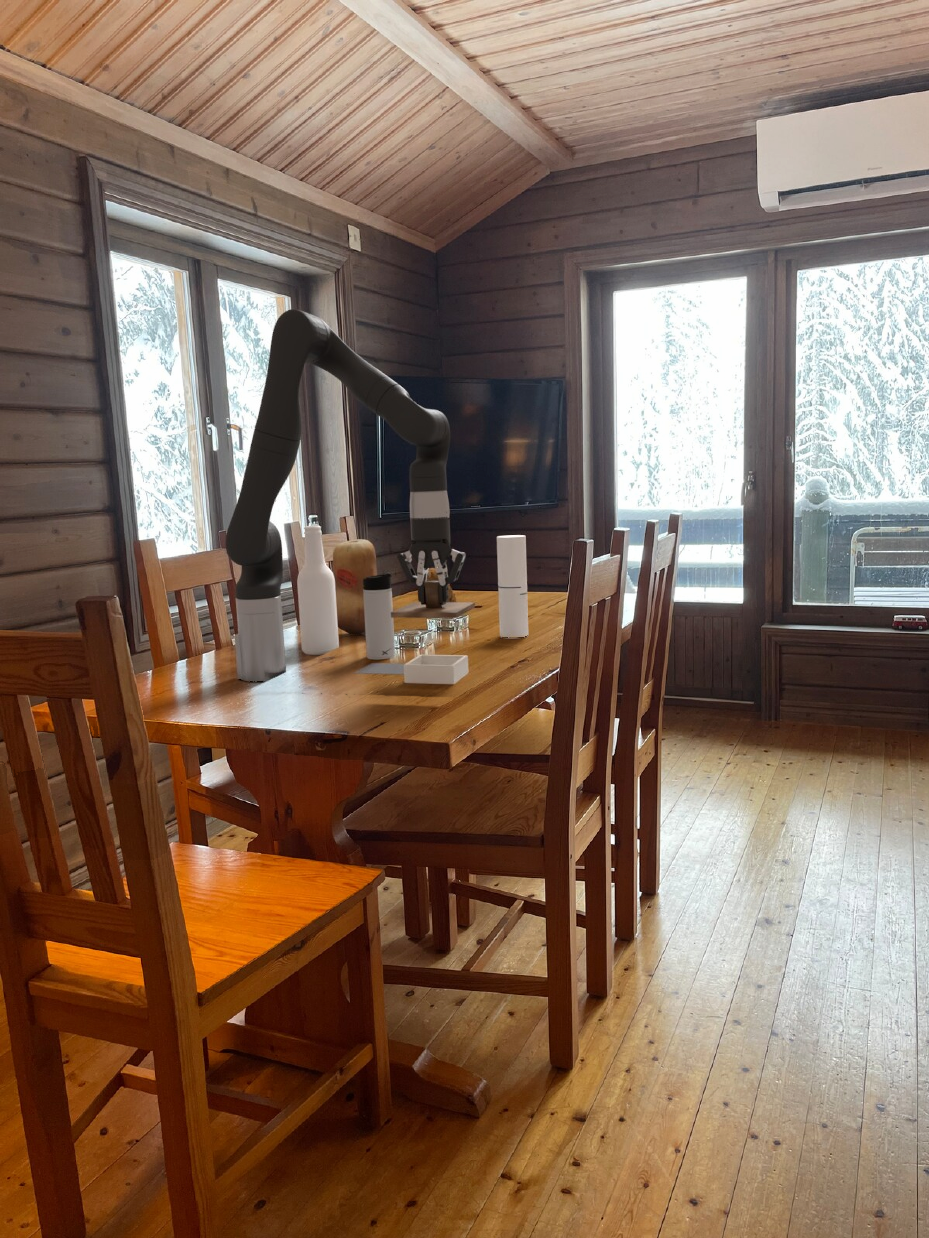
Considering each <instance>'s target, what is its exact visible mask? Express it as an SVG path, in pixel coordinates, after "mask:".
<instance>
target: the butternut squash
mask: <svg viewBox="0 0 929 1238" xmlns="http://www.w3.org/2000/svg"><path fill="white" fill-rule="evenodd" d="M332 552H333V553H332V568H333V569H332V570H333V571H332V572H333V575H334V578H335V586H336V607H337V624H338V630H339V629H340V630H341V631H343V632H345V633H347V635H348V634H349V635H350V636H360V637H361V636H364V635H365V636H366V632H365V614H364V596H363V593H364V592H363V586H364V585H363V579H366V577H370V576H376V575H378V570H377V556H376V548H375V546H374V544H373V543H372V542H371V541H370V540H367V539H361V538H359V539H358V538H357V539H353V540H351V539H350V540H347V541H344V542H340V543H339V544H337V545H336V546H335V548H334V549H333V551H332Z"/></svg>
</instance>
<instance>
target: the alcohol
mask: <svg viewBox="0 0 929 1238" xmlns="http://www.w3.org/2000/svg"><path fill="white" fill-rule="evenodd" d="M303 529H304V533H303V534H304V564H303V567H302V568H301V570H300V571H299V572H298V575H297V580H296V582H297V583H296V584H297V596H298V613H299V626H300V627H299V628H300V641H301V643H300V645H301V651H302V652H303V653H304V654H305V655H308V656H310V655H311V656H322V655H325V654H328V653H330V652H333V651H334V650H337V649H338V648H340V641H339V628H338V624H337V607H336V592H337V590H336V581H335V578H334V572H333V571H332V570H331V569H330V568H329V566H328V565H327V564H326V559H325V553H324V547H323V546H324V545H323V539H322V534H323V532H322V526H320V525H308V526H307V525H306V526H304V527H303Z"/></svg>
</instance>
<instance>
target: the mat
mask: <svg viewBox="0 0 929 1238" xmlns="http://www.w3.org/2000/svg"><path fill="white" fill-rule="evenodd" d="M404 664H405V663H396V662H395V663H391V662H388V663H386V662H372V663H369V664H367V665H366V666H364V667H363V668H361V669H359V670H357V671H355V672H354V674H365V675H366V674H369V675H373V674H374V675H401V676H402V675H403V676H404Z"/></svg>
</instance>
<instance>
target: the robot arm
mask: <svg viewBox="0 0 929 1238" xmlns="http://www.w3.org/2000/svg"><path fill="white" fill-rule="evenodd" d="M272 331H273V332H272V334H271V340H270V341H271V342H270V348H269V349H270V350H269V355H268V366H267V371H266V372H267V373H266V378H265V384H264V386H263V387H264V388H263V392H262V397H261V400H260V401H261V402H260V406H259V410H258V416H257V418H256V421H255V426H254V429H253V433H252V434H253V435H252V439H251V442H250V447H249V452H248V458H247V461H246V464H245V470H244V474H243V479H242V484H241V488H240V492H239V496H238V499H237V503H236V505H235V507H234V510H233V513H232V517H231V519H230V523H229V525H228V528H227V531H226V534H225V540H224V544H225V551H226V553H227V556H228V558H229V559H230V560H231V561H232V562H233V563H235V564H236V565H239V566H241V573H240V576H239V579H238V580H237V582H236V584H235V586H234V593H235V606H236V608H235V609H236V620H237V632H238V633H236V634H234V644H235V645H234V646H235V647H234V649H235V658H236V661H235V662H236V671H237V672H236V673H237V680H238V679H241V680H242V681H245V682H250V681H253V682H252V683H258V682H257V681H263V682H269V681H271V680H273V679H275V678H277V677H279V676H282V675H283V674H285V673H287V665H286V663H287V662H286V651H285V650H286V648H285V637H284V636H285V635H284V624H283V623H284V621H283V605H282V593H281V589H282V588H281V586H282V584H283V583H282V582H283V579H284V578H283V577H284V566H283V565H284V563H283V545H282V544H283V543H282V537H281V533H280V532H279V530H278V528H277V526H276V525H275V524H274V523H272V521H271V516H272V511H273V508H274V504H275V502H276V499H277V497H278V495H279V493H280V491H281V490H282V489H283V486H284V484H285V483H286V482H287V480H288V478H289V475H290V474H291V472H292V469H293V468H294V465H295V462H296V459H297V456H298V451H299V448H300V443H301V440H302V434H303V420H302V418H303V417H302V410H301V403H300V386H301V380H302V375H303V371H304V368H305V365H306V364H311V365H313V366H316V367H317V368H319V369H322V370H324V371H326V372H327V373H329V374H330V375H332V376H334V378H336V379H337V380H339V381H340V382H341V383H342V384H343V385H344V386H345V387H346V388H347V390H348V391H349V392H350V393H351V394H352V395H353V396H354V397H355V398H356V400H358V401H359V402H360V403H361V404H363V405H364V406H365V407H366V408H367V409H369V410H370V411H372V412H373V413H374V414H376V415H377V416H379V417H380V418H381V419H383V420H384V421H385V422H386V423H387V424H388V426H390V428H391V429H392V430H393V431H394V432H395V433H396V434H397V435H398V436H399V437H401V438H402V440H404V441H405V442H407V443H409V444H410V445H413V446H415V447H416V459H415V460H414V461H413V462H411V464H410V466H409V490H410V492H409V493H410V495H409V519H410V538H411V545H410V546H409V550H408V551H405V552H402V553H398V554H397V560H398V562H399V565H400V566H401V569H402V571H403V573H404V576H405V578H406V579H407V580H406V581H407V582H408V583H412V584H415V585H416V588H417V600H418V602H421V605H426V603H425V582H426V579H427V573H428V570H429V569H430V568H435V569H436V573H437V575H438V578H439V583H440V586H439V603H440V605H444V604H446V602H447V601H448V599H449V590H448V585H449V584H451V583H454V582H456V581H458V579H459V576H460V574H461V570H462V567H463V566H464V563H465V560H466V557H467V554H466V552H463V551H458V550H456V549H454V546H453V545H452V542H451V525H450V524H451V523H450V521H451V520H450V514H451V513H450V511H451V510H450V502H449V497H448V482H447V481H448V480H447V462H448V458H449V451H450V450H449V449H450V445H451V444H450V443H451V429H450V427H451V426H450V423H449V420H448V418H447V416H446V415H445V414H444V413H443V412H442V411H441V410H440V411H439V410H438V409H433V408H432V409H431V408H425V407H423V406H421V405H419V404H417V402H416V401H414V400H413V399H412V398H411V397H410V396H411V395H410V394H409V392H408V390H406V389H405V388H404V387H402V386H401V385H400V384H399V383H398V382H396V381H395V380H393V379H392V378H391V377H389V376H388V375H386V374H385V373H383V371H381V370H379V369H378V368H376V367H375V366H373V364H371V363H369V362H368V361H367V360H365V359H364V358H363V357H362V356H360V355H359V354H357V353H356V352H355V351H354V350H352V349H351V347H350V346H348V344H347V343H345V341H343V340H342V338H340V336H339V335H338V334H337V333H336V332H335V331H334V330H333V329H332V328H331V327H330V326H329V325H328V324H327V323H326V322H325V320H323V319H322V318H320V317H318V316H317V315H313V314H311V313H309V312H306V311H303V310H301V309H296V308H295V309H294V308H291V309H288V310H285V311H284V312H282V314H281V315H280V316H279V317H278V318H277V320H276V322H275V324H274V326H273V330H272ZM451 556H452V558H451V560H452V562H453V565H452V568H451V569H450V572H449V573H450V574H448V565H447V562H448V560H449V559H450V557H451ZM412 558H413V559H414V560H415V561H416V563H417V570H416V571H415V569H414V567H413V564H412V560H413V559H412ZM241 680H240V681H241ZM254 681H255V682H254Z"/></svg>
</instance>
